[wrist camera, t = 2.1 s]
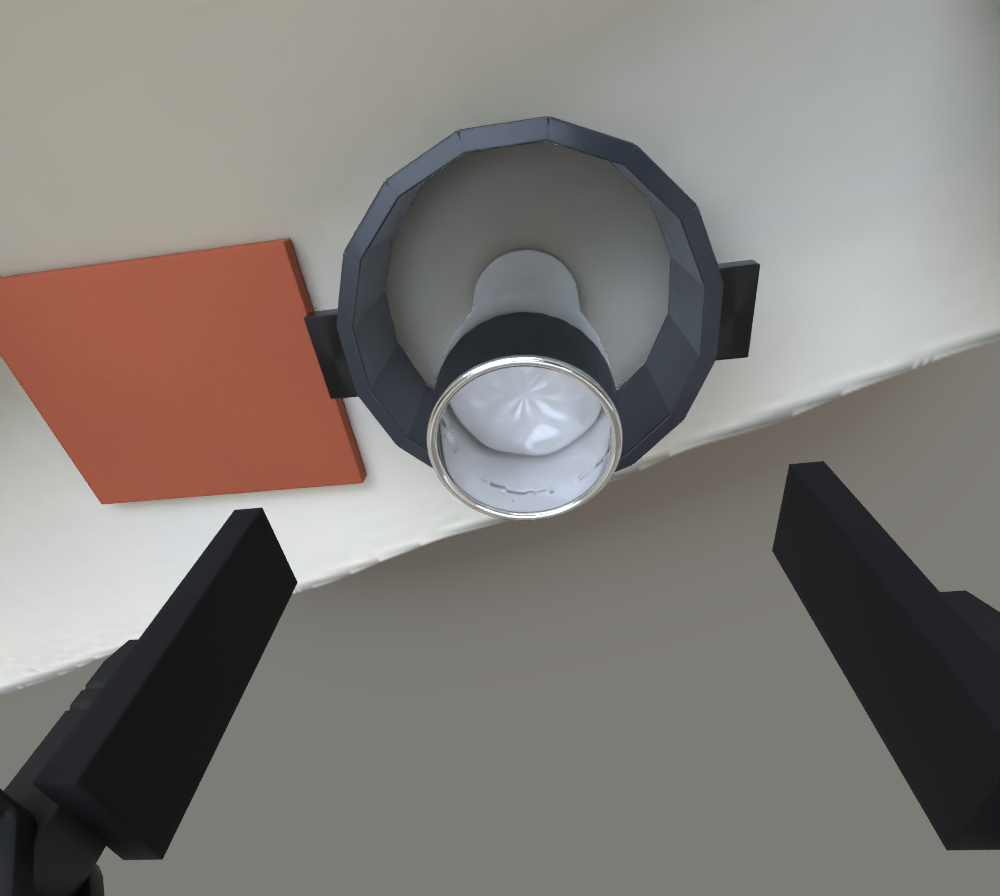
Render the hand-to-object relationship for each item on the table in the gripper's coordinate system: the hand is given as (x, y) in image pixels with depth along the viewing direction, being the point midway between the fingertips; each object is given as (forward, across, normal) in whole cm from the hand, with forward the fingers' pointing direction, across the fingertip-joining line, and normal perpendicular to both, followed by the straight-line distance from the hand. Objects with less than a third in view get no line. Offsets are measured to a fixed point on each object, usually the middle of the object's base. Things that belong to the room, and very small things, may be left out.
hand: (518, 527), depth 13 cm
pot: (+20, 0, 0) cm, 20 cm away
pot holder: (+20, -22, -3) cm, 30 cm away
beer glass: (+20, 0, 0) cm, 20 cm away
